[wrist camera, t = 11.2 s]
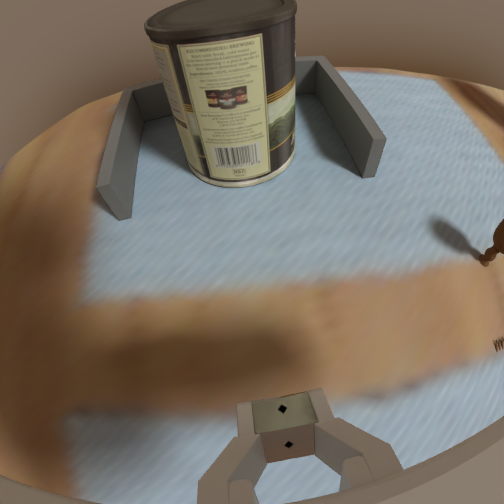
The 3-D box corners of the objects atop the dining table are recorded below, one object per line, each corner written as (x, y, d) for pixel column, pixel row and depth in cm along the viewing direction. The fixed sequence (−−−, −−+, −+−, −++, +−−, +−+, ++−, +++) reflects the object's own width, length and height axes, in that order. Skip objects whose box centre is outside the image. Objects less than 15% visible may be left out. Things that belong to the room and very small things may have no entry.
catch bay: (118, 220, 24) (95, 187, 20) (135, 118, 32) (123, 88, 28) (374, 176, 25) (386, 138, 21) (321, 87, 32) (323, 55, 28)
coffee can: (260, 105, 31) (250, -14, 18) (317, 160, 26) (329, 8, 14) (172, 140, 29) (132, 16, 17) (211, 208, 24) (164, 43, 12)
